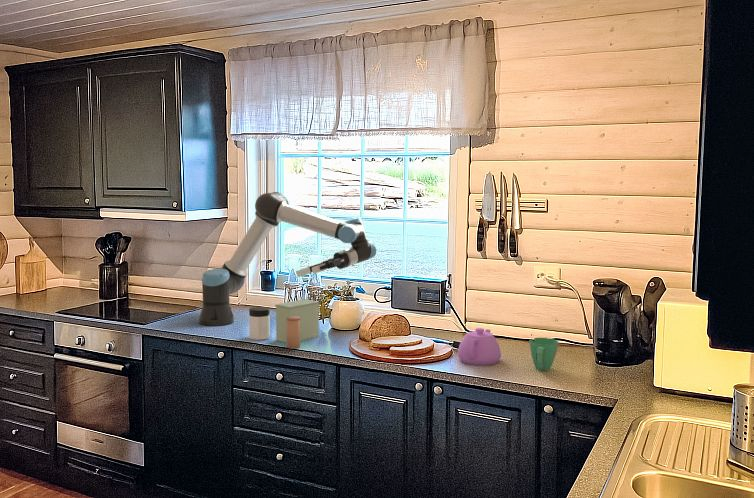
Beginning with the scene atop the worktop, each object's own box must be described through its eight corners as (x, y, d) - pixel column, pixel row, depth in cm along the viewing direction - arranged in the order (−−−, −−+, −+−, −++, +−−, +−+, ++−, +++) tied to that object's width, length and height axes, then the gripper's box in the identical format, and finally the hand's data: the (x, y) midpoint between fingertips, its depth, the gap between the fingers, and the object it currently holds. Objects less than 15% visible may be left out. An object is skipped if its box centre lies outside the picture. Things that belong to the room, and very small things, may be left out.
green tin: (275, 340, 280) (275, 304, 278) (305, 333, 292) (305, 299, 291) (289, 343, 275) (289, 307, 273) (319, 336, 287) (319, 301, 285)
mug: (530, 363, 249) (531, 336, 248) (558, 366, 246) (559, 339, 245) (524, 374, 235) (525, 346, 234) (554, 378, 232) (555, 348, 231)
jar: (253, 341, 278) (253, 311, 276) (245, 336, 284) (245, 308, 283) (274, 338, 283) (273, 309, 282) (265, 334, 290) (265, 305, 288)
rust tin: (283, 347, 269) (283, 317, 267) (293, 344, 273) (293, 315, 271) (292, 349, 265) (292, 319, 264) (302, 347, 269) (302, 317, 268)
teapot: (491, 371, 239) (492, 337, 238) (448, 365, 246) (449, 332, 245) (508, 356, 259) (509, 324, 258) (468, 351, 266) (469, 320, 264)
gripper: (363, 263, 293) (322, 278, 281) (332, 269, 314) (293, 283, 301) (358, 246, 293) (316, 260, 281) (328, 254, 313) (288, 267, 301)
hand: (304, 272), depth 291 cm, fingers open, 13 cm apart
